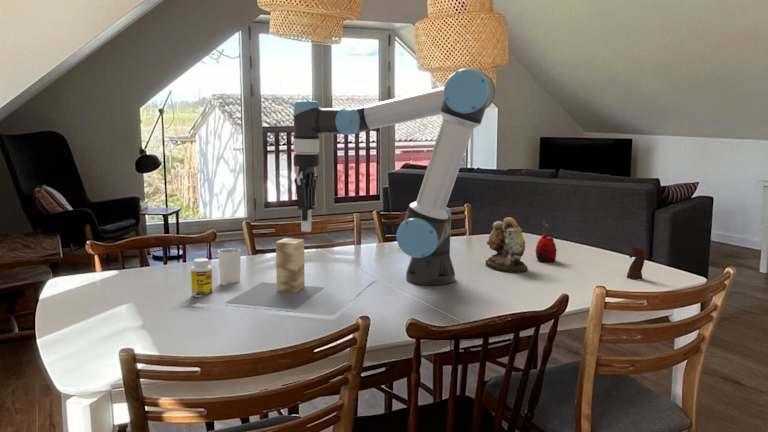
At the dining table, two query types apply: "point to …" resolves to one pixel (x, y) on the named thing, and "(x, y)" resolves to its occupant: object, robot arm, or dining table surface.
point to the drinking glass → (229, 265)
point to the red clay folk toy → (546, 248)
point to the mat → (275, 296)
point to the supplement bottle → (201, 277)
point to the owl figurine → (506, 247)
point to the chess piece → (636, 263)
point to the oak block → (290, 264)
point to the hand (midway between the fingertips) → (306, 230)
